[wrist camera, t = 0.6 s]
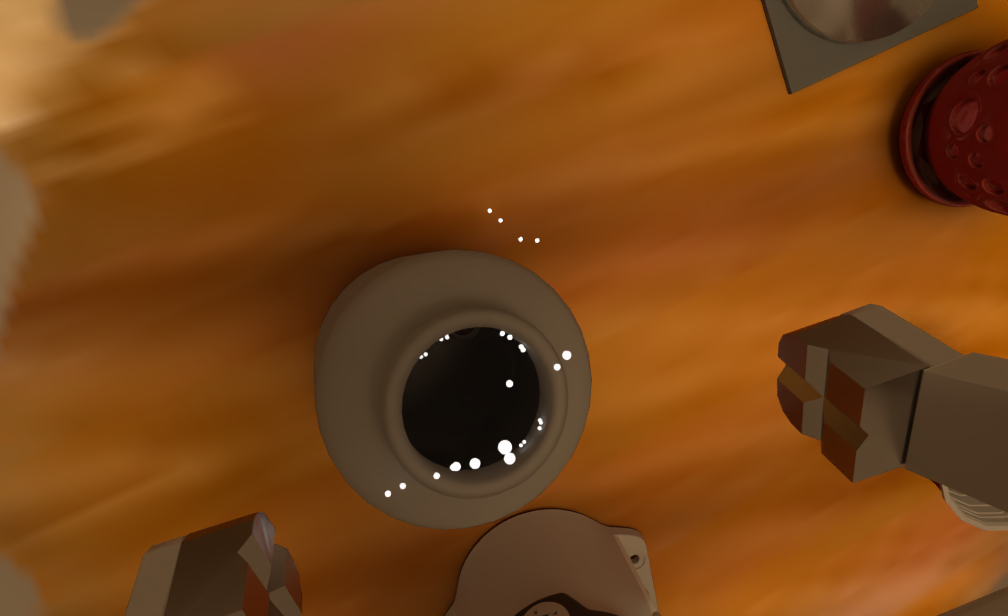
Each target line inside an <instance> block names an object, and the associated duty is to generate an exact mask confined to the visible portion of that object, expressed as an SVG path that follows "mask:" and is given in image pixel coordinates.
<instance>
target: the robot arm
mask: <svg viewBox="0 0 1008 616" xmlns="http://www.w3.org/2000/svg"><path fill="white" fill-rule="evenodd" d="M778 357H779V358H780V359H781V360H782V361H783V362H784V363H785V364H786V366H785V367H784V369H783V371H782V372H781V374H780V375H779V377H778V378H777V396H778V398H779V401H780V404H781V407H782V410H783V412H784V413H785V415H786V416H787V418H788V419H789V421H790V422H791V424H792V425H793V426H794V427H795V428H796V429H797V430H798V431H799V432H800V433H801V434H804V435H807V436H810V437H813V438H815V439H818V440H820V441H821V453H822V454H823V455H824V456H825V457H826V458H827V459H828V460H829V461H830V462H831V463H832V464H833V465H834V466H835V467H836V468H837V469H838V470H840V471H841V472H842V473H843V474H844V475H845V476H846V477H847V478H848V479H849V480H850V481H851V482H852V483H854V482H857V481H860V480H863V479H866V478H869V477H872V476H875V475H878V474H881V473H884V472H887V471H890V470H893V469H896V468H899V467H901V466H904V465H905V469H907V470H909V471H912V472H914V473H916V474H919V475H921V476H923V477H926V478H928V479H930V480H933V481H935V482H937V483H940V484H942V485H944V486H947V487H949V488H951V489H954V490H956V491H958V492H961V493H963V494H965V495H968V496H970V497H972V498H975V499H977V500H979V501H982V502H984V503H986V504H989V505H991V506H993V507H996V508H998V509H1000V510H1002V511H1005V512H1007V513H1008V359H1003V358H998V357H993V356H988V355H983V354H978V353H971V354H968V355H965V356H964V355H962V354H961V353H959V352H957V351H956V350H954V349H952V348H951V347H949V346H947V345H946V344H944V343H942V342H941V341H939V340H937V339H936V338H934V337H932V336H931V335H929V334H927V333H926V332H924V331H922V330H921V329H919V328H917V327H916V326H914V325H912V324H911V323H909V322H907V321H906V320H904V319H902V318H901V317H899V316H897V315H896V314H894V313H892V312H891V311H889V310H887V309H886V308H884V307H882V306H879V305H874V304H868V305H866V306H863V307H860V308H857V309H854V310H852V311H849V312H846V313H843V314H841V315H840V316H836V317H833V318H830V319H827V320H824V321H822V322H819V323H816V324H813V325H810V326H807V327H804V328H801V329H798V330H796V331H793V332H790V333H787V334H784V335H783V336H782V338H781V340H780V342H779V348H778ZM274 532H275V528H274V526H273V525H272V523H271V522H270V520H269V519H268V517H267V516H266V514H265V513H261V512H257V513H253V514H250V515H247V516H244V517H241V518H237V519H234V520H231V521H228V522H225V523H221V524H218V525H215V526H212V527H209V528H205V529H202V530H199V531H196V532H193V533H189V534H188V535H186V536H182V537H179V538H176V539H173V540H170V541H166V542H163V543H160V544H157V545H153V546H151V547H150V549H149V550H148V551H147V552H146V553H145V554H144V556H143V558H142V562H141V565H140V568H139V571H138V575H137V578H136V581H135V584H134V588H133V591H132V594H131V597H130V600H129V604H128V607H127V610H126V613H125V616H301V614H302V591H301V585H300V579H299V574H298V571H297V568H296V565H295V563H294V560H293V558H292V556H291V555H290V553H289V551H288V550H287V548H284V547H282V546H279V545H277V544H274ZM633 555H636V556H635V557H634V558H633V559H630V558H631V556H633ZM445 616H661V614H660V613H659V611H658V606H657V601H656V595H655V590H654V585H653V579H652V574H651V569H650V564H649V558H648V553H647V548H646V544H645V541H644V539H643V537H642V535H641V533H640V532H638V531H636V530H634V529H630V528H620V527H608V526H605V525H602V524H600V523H598V522H596V521H594V520H592V519H590V518H588V517H586V516H584V515H581V514H579V513H575V512H571V511H566V510H558V509H546V510H537V511H532V512H527V513H524V514H521V515H518V516H515V517H513V518H511V519H509V520H507V521H505V522H503V523H501V524H500V525H498V526H497V527H495V528H494V529H492V530H491V531H490V532H489V533H487V534H486V535H485V536H484V537H483V538H482V539H481V540H480V541H479V542H478V543H477V545H476V546H475V547H474V548H473V550H472V551H471V552H470V554H469V556H468V557H467V559H466V561H465V563H464V565H463V568H462V570H461V573H460V577H459V581H458V587H457V593H456V597H455V600H454V603H453V605H452V606H451V608H450V609H449V610H448V612H447V613H446V615H445ZM937 616H1008V587H1006V588H1003V589H1001V590H998V591H996V592H993V593H991V594H988V595H986V596H983V597H981V598H979V599H976V600H974V601H971V602H969V603H966V604H964V605H961V606H959V607H956V608H954V609H952V610H949V611H947V612H944V613H942V614H939V615H937Z"/></svg>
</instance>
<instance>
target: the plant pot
mask: <svg viewBox="0 0 1008 616" xmlns="http://www.w3.org/2000/svg"><path fill="white" fill-rule="evenodd" d="M899 147H900V155H901V159H902V163H903V166H904V169H905V171H906V173H907V175H908V177H909V179H910V181H911V182H912V184H913V185H914V186H915V187H916V188H917V190H918V191H920V192H921V193H922V194H923V195H924V196H925V197H927V198H928V199H930V200H932V201H934V202H936V203H939V204H942V205H947V206H953V207H965V206H971V205H975V206H978V207H980V208H982V209H985V210H988V211H991V212H995V213H999V214H1003V215H1007V216H1008V39H1007V40H1005V41H1003V42H1001V43H999V44H997V45H995V46H993V47H991V48H989V49H988V50H986V51H970V52H966V53H962V54H959V55H957V56H954V57H952V58H950V59H948V60H946V61H945V62H943V63H942V64H940V65H939V66H937V67H936V68H935V69H934V70H933V71H931V72H930V73H929V74H928V75H927V76H926V77H925V78H924V80H923V81H922V82H921V83H920V84H919V86H918V87H917V89H916V90H915V92H914V93H913V95H912V97H911V98H910V100H909V102H908V105H907V107H906V109H905V112H904V115H903V118H902V121H901V126H900V133H899Z"/></svg>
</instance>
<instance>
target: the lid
mask: <svg viewBox="0 0 1008 616" xmlns="http://www.w3.org/2000/svg"><path fill="white" fill-rule="evenodd" d="M781 1H782V2H783V4H784V6H785V7H786V9H787V10H788V12H789V13H790V14H791V15H792V17H793V18H794V19H795V20H796V21H797V22H798V23H799V24H800V25H801V26H802V27H803V28H805V29H806V30H807V31H809V32H810V33H812V34H813V35H815V36H817V37H819V38H821V39H823V40H827V41H830V42H833V43H839V44H860V43H867V42H870V41H874V40H877V39H881V38H884V37H887V36H890V35H892V34H894V33H896V32H899V31H901V30H902V29H904V28H905V27H907V26H908V25H910V24H911V23H913V22H914V21H915V20H916V19H917V18H919V17H920V16H921V15H922V14H923V13H924V12H925V11H926V10H927V8H928V7H929V6H930V5H931V4H932V2H933V1H934V0H781Z"/></svg>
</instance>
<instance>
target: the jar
mask: <svg viewBox="0 0 1008 616" xmlns="http://www.w3.org/2000/svg"><path fill="white" fill-rule="evenodd" d="M488 212H489V213H491V212H492V210H491V209H488ZM499 222H500V223H501V222H502V219H501V218H500V219H499ZM522 240H523V239H522V238H521V237H520V238H519V241H522ZM535 242H536V243H538V242H539V239H538V238H537V239H535ZM591 381H592V379H591V370H590V361H589V354H588V350H587V347H586V344H585V341H584V338H583V334H582V331H581V329H580V327H579V325H578V323H577V321H576V320H575V318H574V316H573V314H572V312H571V310H570V308H569V307H568V306H567V304H566V303H565V302H564V301H563V300H562V298H561V297H560V296H559V295H558V294H557V292H556V291H555V290H554V289H553V288H552V287H551V286H550V285H549V284H547V283H546V282H545V281H544V280H542V279H541V278H540V277H539V276H538V275H536V274H535V273H534V272H532V271H530V270H528V269H526V268H525V267H523V266H521V265H519V264H517V263H515V262H513V261H511V260H509V259H506V258H502V257H499V256H495V255H492V254H488V253H485V252H481V251H469V250H456V249H453V250H445V251H437V252H429V253H423V254H417V255H411V256H405V257H399V258H396V259H393V260H390V261H387V262H384V263H381V264H378V265H377V266H375V267H373V268H371V269H370V270H368V271H366V272H364V273H363V274H361V275H360V276H358V277H357V278H356V279H355V280H354V281H353V282H352V283H350V284H349V285H348V286H347V287H346V288H345V289H344V290H343V291H342V292H341V294H340V295H339V296H338V297H337V299H336V300H335V301H334V303H333V304H332V305H331V307H330V308H329V311H328V313H327V315H326V317H325V319H324V321H323V323H322V325H321V327H320V331H319V335H318V339H317V343H316V347H315V363H314V382H315V405H316V411H317V418H318V424H319V430H320V432H321V435H322V438H323V440H324V443H325V445H326V448H327V450H328V453H329V456H330V457H331V459H332V461H333V462H334V464H335V465H336V467H337V468H338V470H339V471H340V473H341V474H342V476H343V477H344V479H345V480H346V482H347V483H348V484H349V485H350V486H351V487H352V488H353V489H354V490H355V491H356V492H357V493H358V494H359V495H360V496H361V497H362V498H363V499H364V500H365V501H366V502H367V503H369V504H371V505H372V506H374V507H375V508H377V509H379V510H380V511H382V512H384V513H385V514H387V515H388V516H390V517H392V518H395V519H398V520H401V521H404V522H406V523H409V524H412V525H415V526H421V527H428V528H435V529H459V528H470V527H474V526H478V525H482V524H486V523H490V522H493V521H496V520H498V519H500V518H502V517H504V516H507V515H509V514H511V513H513V512H515V511H517V510H519V509H520V508H522V507H523V506H525V505H526V504H527V503H529V502H530V501H532V500H533V499H534V498H536V497H537V496H539V495H540V494H541V493H542V492H543V491H544V490H545V489H546V488H547V487H548V486H549V485H550V484H551V483H552V482H553V481H554V480H555V479H556V477H557V476H558V475H559V474H560V472H561V471H562V469H563V468H564V466H565V465H566V464H567V462H568V461H569V459H570V458H571V456H572V455H573V453H574V451H575V448H576V446H577V444H578V442H579V439H580V437H581V435H582V433H583V431H584V427H585V423H586V419H587V415H588V411H589V407H590V396H591Z"/></svg>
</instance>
